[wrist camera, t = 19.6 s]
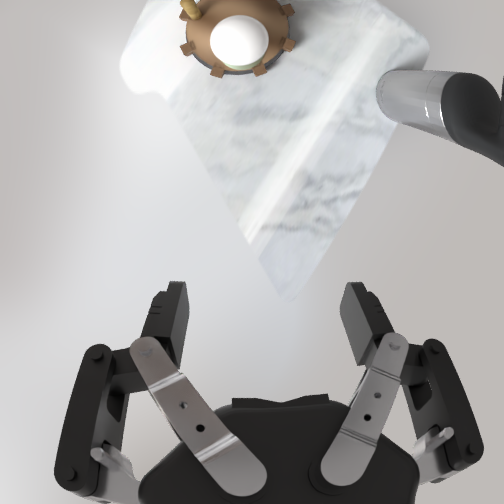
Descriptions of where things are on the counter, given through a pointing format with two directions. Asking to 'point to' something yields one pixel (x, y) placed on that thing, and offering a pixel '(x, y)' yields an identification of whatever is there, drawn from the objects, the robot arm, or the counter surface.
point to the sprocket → (225, 5)
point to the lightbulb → (239, 40)
